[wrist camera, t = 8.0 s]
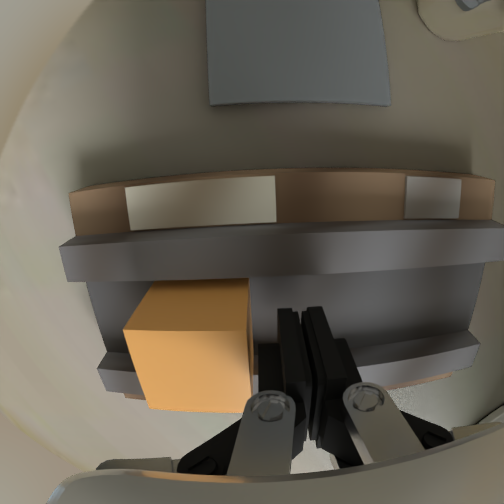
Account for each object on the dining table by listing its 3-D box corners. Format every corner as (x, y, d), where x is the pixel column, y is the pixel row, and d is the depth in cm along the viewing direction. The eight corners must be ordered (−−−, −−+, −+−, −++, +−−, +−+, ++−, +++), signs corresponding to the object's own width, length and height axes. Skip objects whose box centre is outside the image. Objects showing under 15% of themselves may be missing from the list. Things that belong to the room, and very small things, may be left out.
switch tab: (248, 275, 13) (246, 330, 9) (253, 349, 14) (252, 412, 10) (156, 278, 13) (123, 329, 9) (170, 349, 14) (149, 408, 11)
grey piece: (472, 174, 13) (514, 186, 10) (438, 358, 17) (460, 391, 14) (89, 185, 14) (49, 200, 11) (134, 376, 18) (118, 415, 15)
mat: (367, -31, 10) (370, -36, 9) (386, 106, 12) (391, 105, 12) (206, -36, 10) (205, -41, 9) (211, 106, 13) (209, 105, 12)
